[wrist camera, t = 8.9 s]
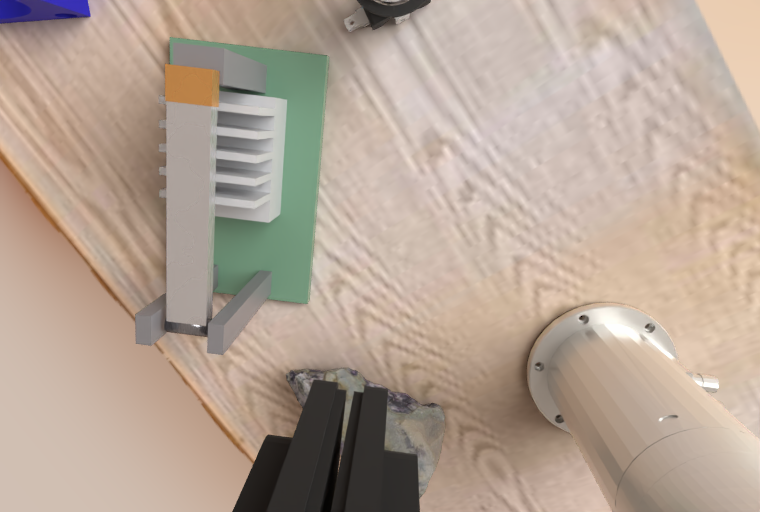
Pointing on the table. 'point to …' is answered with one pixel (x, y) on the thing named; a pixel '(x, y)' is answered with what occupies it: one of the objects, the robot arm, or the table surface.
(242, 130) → the board
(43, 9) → the blue cradle bracket
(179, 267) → the hinged grey bar
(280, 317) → the table surface
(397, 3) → the push button
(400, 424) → the mineral rock
